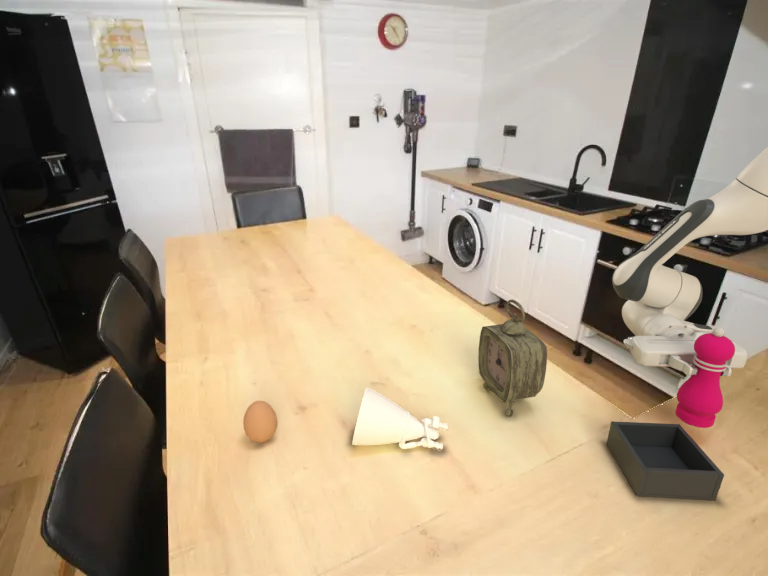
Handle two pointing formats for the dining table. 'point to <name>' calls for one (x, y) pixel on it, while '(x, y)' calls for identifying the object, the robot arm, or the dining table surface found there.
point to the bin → (663, 461)
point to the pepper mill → (705, 380)
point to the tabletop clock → (512, 360)
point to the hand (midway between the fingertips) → (710, 372)
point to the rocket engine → (392, 424)
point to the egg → (260, 421)
